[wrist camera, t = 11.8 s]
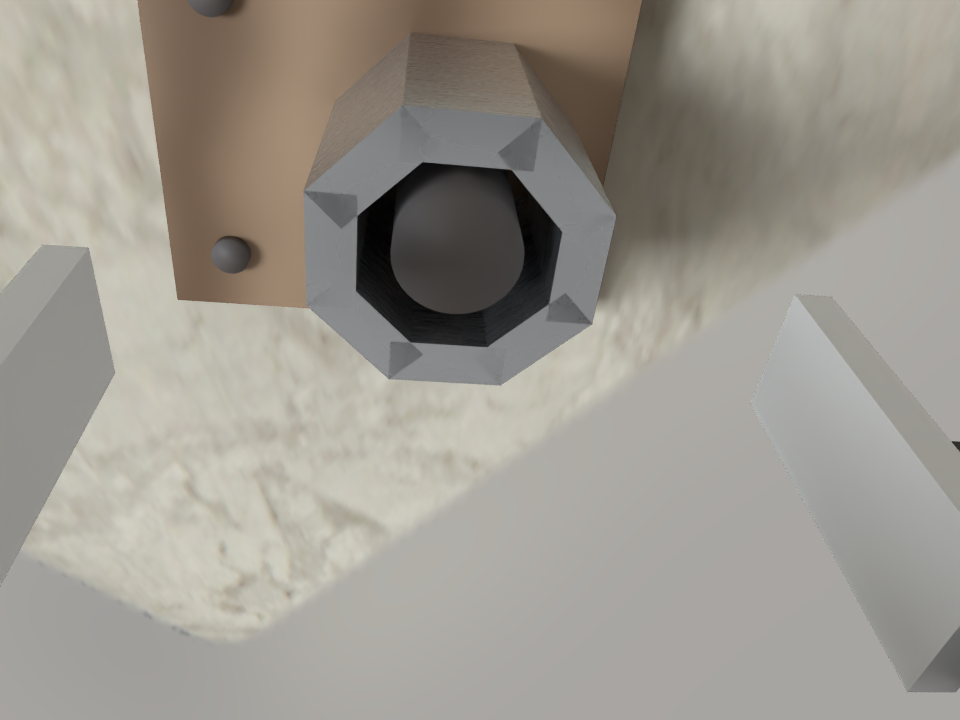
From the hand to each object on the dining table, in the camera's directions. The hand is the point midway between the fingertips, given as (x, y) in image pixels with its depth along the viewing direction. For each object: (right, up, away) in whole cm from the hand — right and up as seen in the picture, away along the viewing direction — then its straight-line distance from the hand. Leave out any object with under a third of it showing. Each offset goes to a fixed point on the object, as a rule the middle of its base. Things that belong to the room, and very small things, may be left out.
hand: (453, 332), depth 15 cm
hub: (0, +6, +9) cm, 11 cm away
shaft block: (-2, +7, +11) cm, 13 cm away
